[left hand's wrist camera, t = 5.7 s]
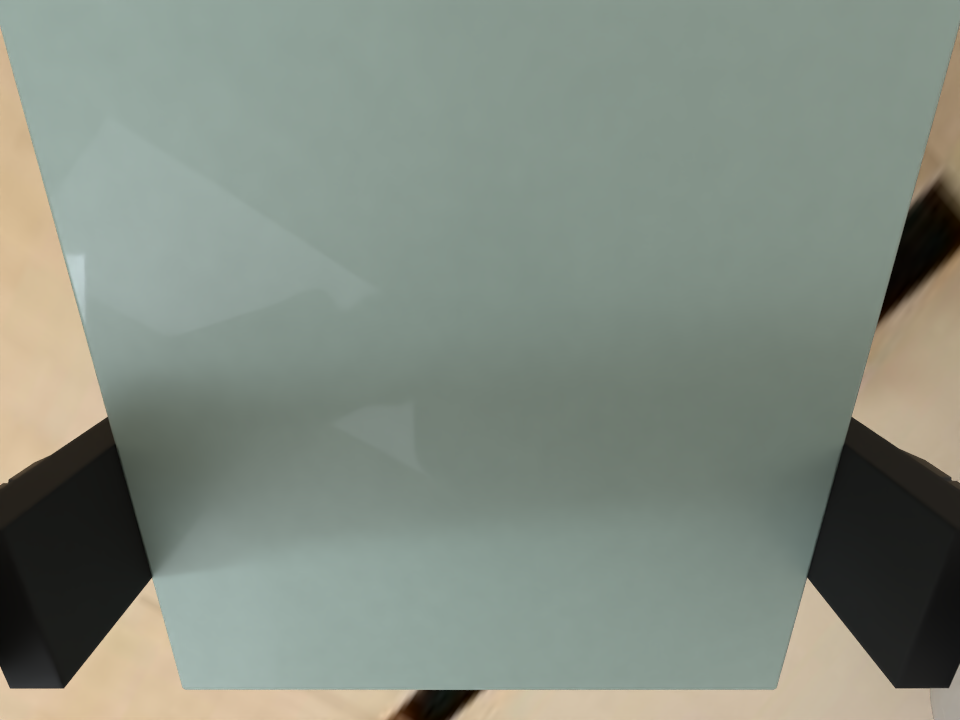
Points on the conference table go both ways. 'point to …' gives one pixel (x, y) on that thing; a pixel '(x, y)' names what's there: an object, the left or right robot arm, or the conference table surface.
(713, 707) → the conference table surface
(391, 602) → the cabinet
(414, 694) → the conference table surface
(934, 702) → the projector
